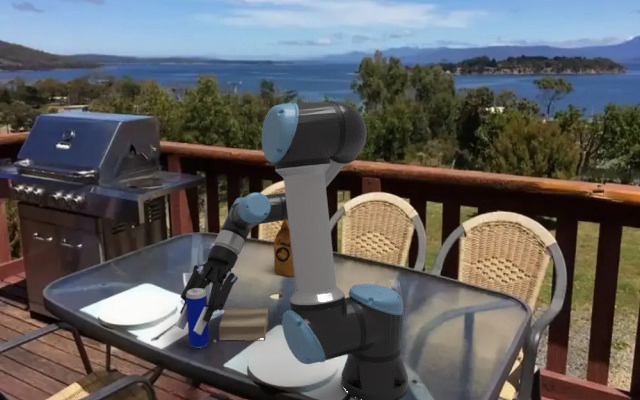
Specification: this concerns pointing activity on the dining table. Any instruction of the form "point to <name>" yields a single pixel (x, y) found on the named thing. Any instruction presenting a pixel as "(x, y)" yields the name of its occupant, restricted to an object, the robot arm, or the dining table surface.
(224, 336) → the oak block
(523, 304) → the dining table surface
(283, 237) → the coffee package
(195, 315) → the beverage can
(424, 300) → the dining table surface
